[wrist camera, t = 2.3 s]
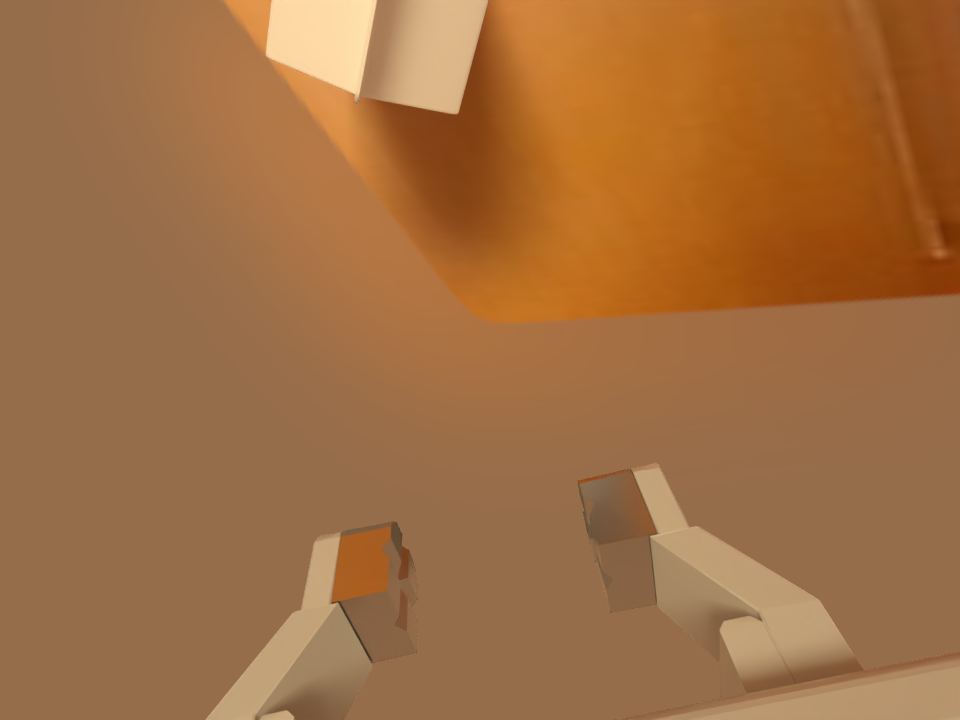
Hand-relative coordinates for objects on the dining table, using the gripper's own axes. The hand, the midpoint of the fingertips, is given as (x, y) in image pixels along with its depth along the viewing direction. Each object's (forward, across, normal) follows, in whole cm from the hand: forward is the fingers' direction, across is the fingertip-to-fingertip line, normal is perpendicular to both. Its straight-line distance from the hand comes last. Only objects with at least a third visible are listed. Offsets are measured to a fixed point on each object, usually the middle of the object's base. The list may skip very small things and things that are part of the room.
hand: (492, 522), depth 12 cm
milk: (+31, 0, -9) cm, 33 cm away
